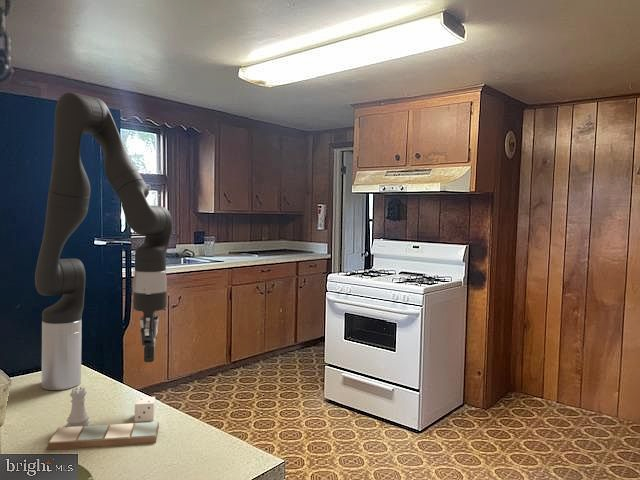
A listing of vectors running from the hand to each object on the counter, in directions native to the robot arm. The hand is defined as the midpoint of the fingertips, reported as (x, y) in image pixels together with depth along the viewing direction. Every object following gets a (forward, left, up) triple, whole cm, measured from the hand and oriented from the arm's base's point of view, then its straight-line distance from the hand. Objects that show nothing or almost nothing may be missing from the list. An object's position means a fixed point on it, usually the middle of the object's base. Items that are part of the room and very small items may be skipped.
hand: (149, 361), depth 118 cm
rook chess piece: (+9, -14, -11) cm, 20 cm away
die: (+7, 0, -11) cm, 13 cm away
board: (+16, -7, -11) cm, 21 cm away
